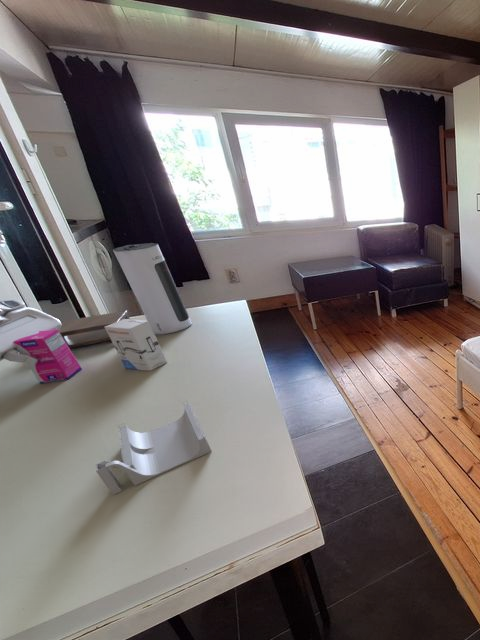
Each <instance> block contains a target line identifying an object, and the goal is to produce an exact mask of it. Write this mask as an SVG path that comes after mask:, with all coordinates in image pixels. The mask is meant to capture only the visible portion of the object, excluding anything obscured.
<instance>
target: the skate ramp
mask: <svg viewBox="0 0 480 640" xmlns="http://www.w3.org/2000/svg"><path fill="white" fill-rule="evenodd" d="M182 406H183V407H184V412H183V414H182V415H181V417H179V418H178V419H177V420H175V421H172V422H169V423H167V424H165V425H162V426H159V427H156V428H154V429H152V430H149V431H144V432H138V431H134V430H132V429H130V428H129V427H128V425H125V423H123V425H122V426H120V424H117V427H118V435H119V442H120V443H119V444H120V451H121V459H122V461H120V460H111V461H106V460H103V461H100V462H98V463H96V464H95V471H96V474H97V475H98V476H99V478H100V479H101V480H102V482H103V483H104V485H105V486H106V489H108V491H109V492H110V494H111V495H112V496H115V495H116V494H118V493H121V492H122V489H121V488H120V487H119V486H121V485H122V484H121V482H120V481H119V479H118V478H117V476H116V475H115V473H114V472H113V470H112V468H116V469H121V470H122V471H124V472H125V473H126V475H127V476H128V477H129V479H130V481H131V482H132V484H133V485H134V486H137V485H140V484H142V483H145V482H146V481H148V480H150V479H153V478H155V477H158V476H160V475H162V474H165V473H166V472H168V471H171V470H173V469H175V468H177V467H180V466H182V465H184V464H187V463H189V462H191V461H194V460H196V459H197V458H200V457H202V456H204V455H207V454H209V453H211V452H212V448H211V447H210V445H209V442H208V440H207V438H206V436H205V434H204V431H203V429H202V427H201V425H200V423H199V421H198V418H197V416H196V414H195V412H194V410H193V408H192V406H191V403H190V402H188V401H184V403H182Z"/></svg>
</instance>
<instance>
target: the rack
mask: <svg viewBox="0 0 480 640" xmlns="http://www.w3.org/2000/svg"><path fill="white" fill-rule="evenodd" d="M123 319H131V318H130V316H129V311H128V310H122V311H116V312H110V313H104V314H98V315H91V316H85V317H79V318H74V319H68V320H61V321H60V322H61V324H62V326H61V328H60V330H59V332H60V334H61V336H62V337H63V339H64V341H65V342H66V344H67V345H68V347H69V349H71V348H76V347H81V346H86V345H92V344H96V343H97V344H98V343H101V342H107V341H111V339H110V337H109V335H108V333H107V331H106V329H105V326H108V325H110V324H113V323H115V322H118V321H120V320H123Z"/></svg>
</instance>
